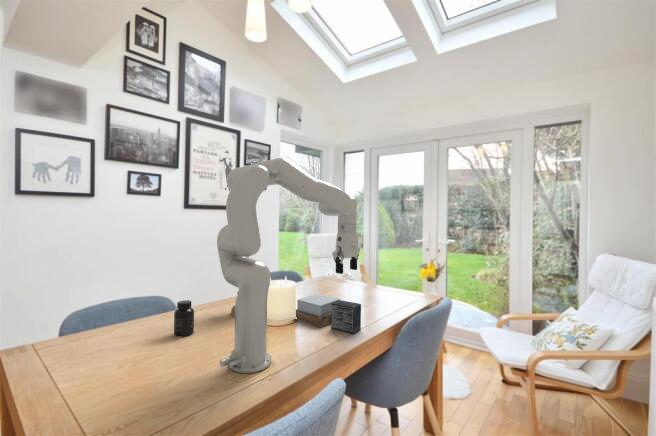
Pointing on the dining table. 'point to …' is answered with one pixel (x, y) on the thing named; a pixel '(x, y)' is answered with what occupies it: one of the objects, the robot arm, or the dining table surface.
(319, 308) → the tower top
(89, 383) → the dining table surface
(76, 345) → the dining table surface
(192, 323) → the supplement bottle
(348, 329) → the small box
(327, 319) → the tower base
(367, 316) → the dining table surface
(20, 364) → the dining table surface
